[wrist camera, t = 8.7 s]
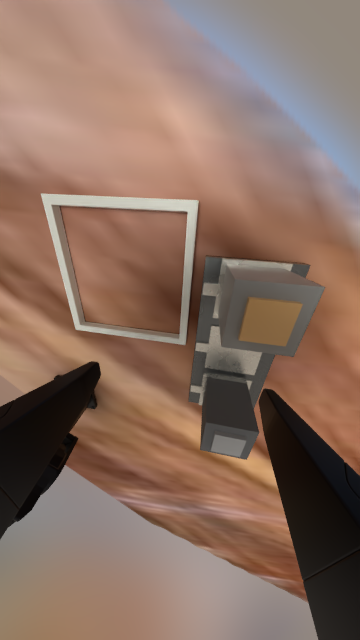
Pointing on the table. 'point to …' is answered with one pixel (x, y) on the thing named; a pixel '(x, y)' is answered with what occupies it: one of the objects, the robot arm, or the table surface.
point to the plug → (265, 309)
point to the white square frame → (149, 204)
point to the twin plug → (228, 419)
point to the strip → (208, 342)
